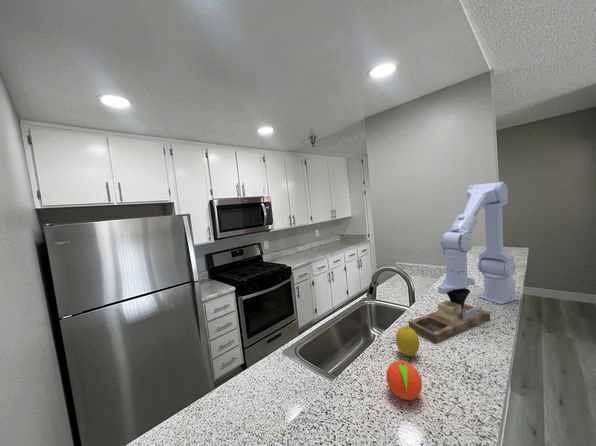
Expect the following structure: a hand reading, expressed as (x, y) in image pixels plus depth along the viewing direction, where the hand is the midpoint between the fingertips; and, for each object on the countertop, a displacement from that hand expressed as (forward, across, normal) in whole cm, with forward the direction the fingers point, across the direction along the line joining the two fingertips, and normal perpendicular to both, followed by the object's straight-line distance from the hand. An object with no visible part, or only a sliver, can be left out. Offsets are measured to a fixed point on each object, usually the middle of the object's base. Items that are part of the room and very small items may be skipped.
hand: (457, 310), depth 76 cm
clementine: (+4, +37, +14) cm, 40 cm away
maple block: (+1, +4, 0) cm, 4 cm away
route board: (+4, +4, 0) cm, 5 cm away
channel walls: (+1, -1, 0) cm, 1 cm away
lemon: (+4, +27, +4) cm, 27 cm away
